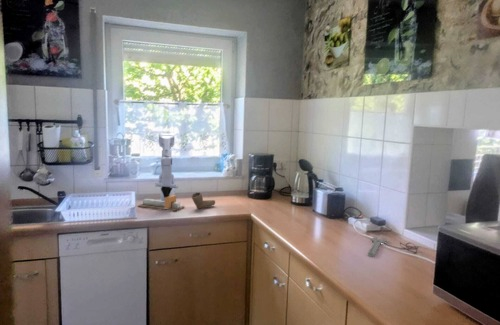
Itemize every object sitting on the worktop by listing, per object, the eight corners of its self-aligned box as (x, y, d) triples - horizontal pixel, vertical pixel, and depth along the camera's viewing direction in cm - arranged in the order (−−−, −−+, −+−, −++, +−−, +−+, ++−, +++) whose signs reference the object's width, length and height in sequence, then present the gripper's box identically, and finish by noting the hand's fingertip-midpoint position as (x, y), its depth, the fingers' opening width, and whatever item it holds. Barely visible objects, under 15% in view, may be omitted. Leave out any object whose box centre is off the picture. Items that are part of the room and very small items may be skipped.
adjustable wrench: (373, 259, 141) (373, 254, 140) (357, 255, 144) (358, 251, 144) (388, 242, 161) (388, 238, 161) (373, 239, 165) (374, 235, 164)
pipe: (217, 207, 216) (218, 191, 214) (195, 211, 204) (195, 194, 203) (211, 205, 220) (211, 189, 219) (189, 208, 209) (189, 192, 208)
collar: (164, 207, 205) (164, 197, 204) (171, 204, 212) (171, 195, 211) (169, 208, 204) (169, 198, 203) (176, 205, 211) (176, 195, 210)
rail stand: (138, 206, 209) (138, 200, 209) (147, 203, 219) (147, 197, 218) (175, 211, 201) (175, 204, 201) (184, 207, 211) (184, 201, 210)
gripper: (152, 177, 205) (152, 199, 207) (173, 178, 201) (173, 201, 202) (159, 175, 212) (159, 197, 213) (179, 177, 207) (179, 199, 209)
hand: (166, 199), depth 208 cm, fingers closed
